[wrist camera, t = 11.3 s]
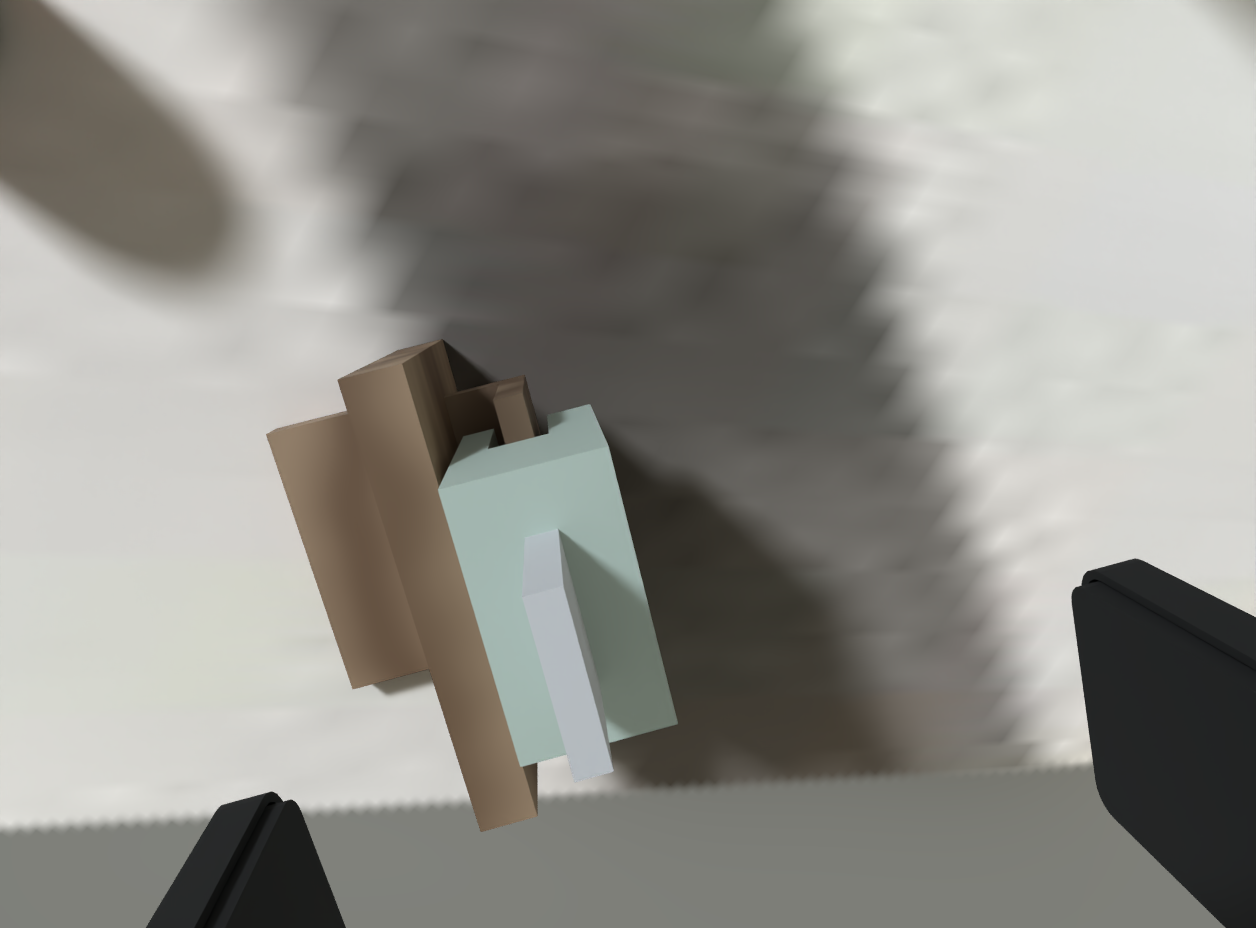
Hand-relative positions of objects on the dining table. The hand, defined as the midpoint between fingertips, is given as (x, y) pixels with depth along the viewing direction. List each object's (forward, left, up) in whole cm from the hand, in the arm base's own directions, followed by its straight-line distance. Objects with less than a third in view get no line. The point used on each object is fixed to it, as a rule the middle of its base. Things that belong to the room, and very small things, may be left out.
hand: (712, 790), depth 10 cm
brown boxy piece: (+7, +3, -30) cm, 32 cm away
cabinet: (+2, +3, -25) cm, 25 cm away
